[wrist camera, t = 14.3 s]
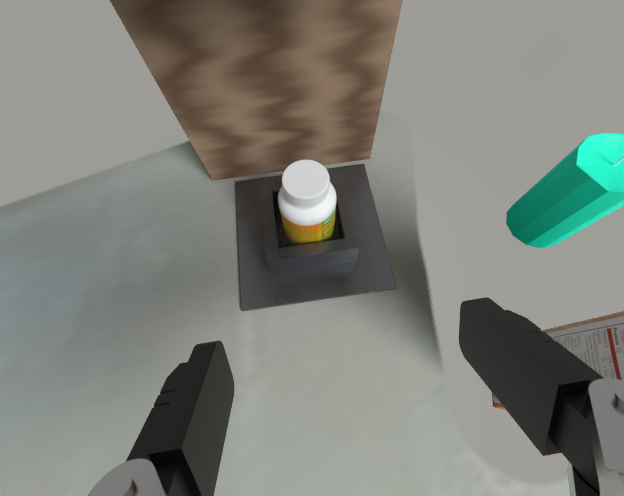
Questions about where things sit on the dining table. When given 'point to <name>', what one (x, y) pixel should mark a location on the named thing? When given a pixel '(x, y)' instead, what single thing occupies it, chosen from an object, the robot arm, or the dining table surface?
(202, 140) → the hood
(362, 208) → the socket
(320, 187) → the supplement bottle
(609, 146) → the candle
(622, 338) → the cracker box
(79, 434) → the dining table surface
